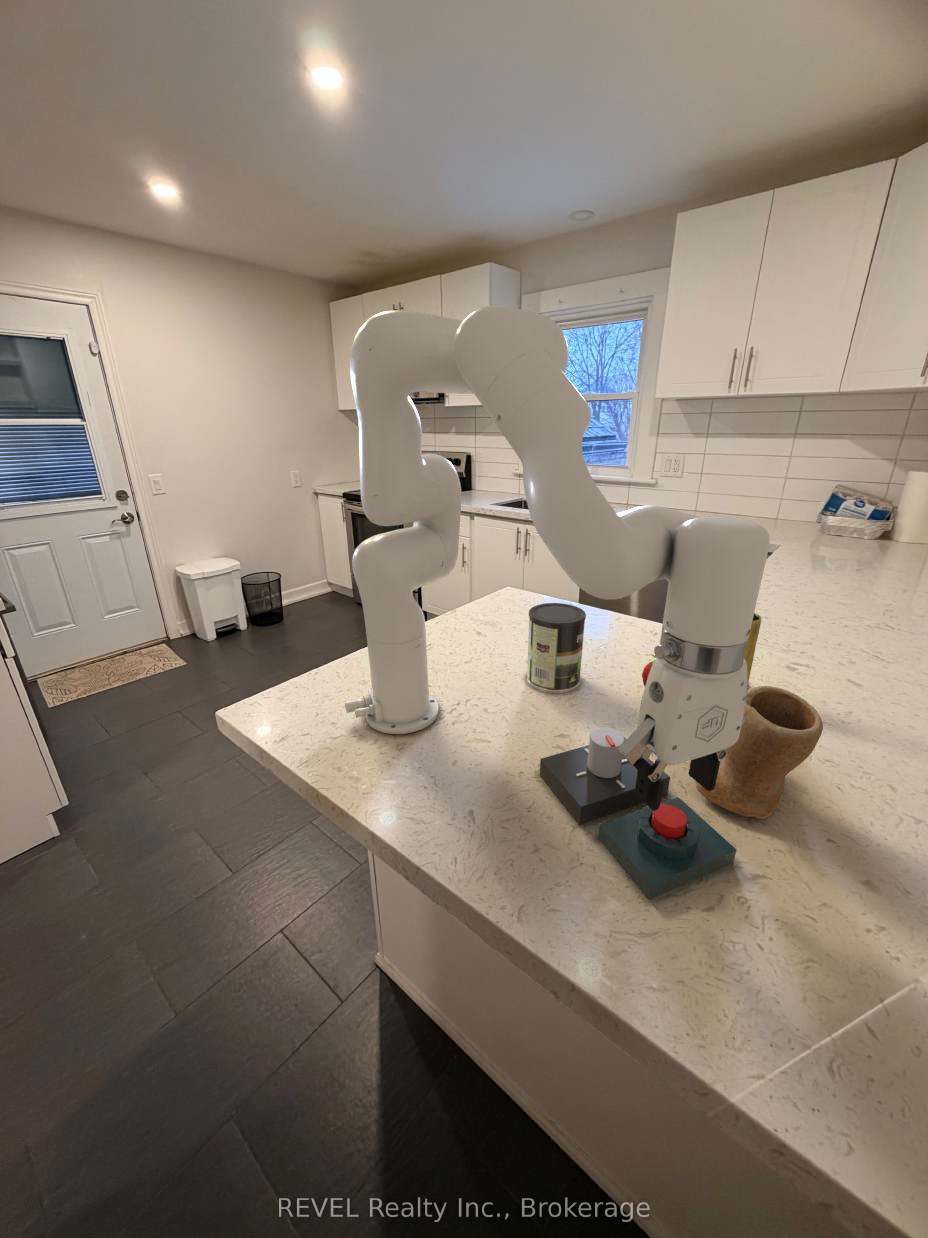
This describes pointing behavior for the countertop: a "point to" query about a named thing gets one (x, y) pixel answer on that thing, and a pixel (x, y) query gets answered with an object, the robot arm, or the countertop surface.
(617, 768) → the hob knob
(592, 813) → the hob panel
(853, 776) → the countertop surface
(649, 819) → the button block
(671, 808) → the button
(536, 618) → the coffee can
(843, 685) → the countertop surface
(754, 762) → the stone cup
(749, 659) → the vase
